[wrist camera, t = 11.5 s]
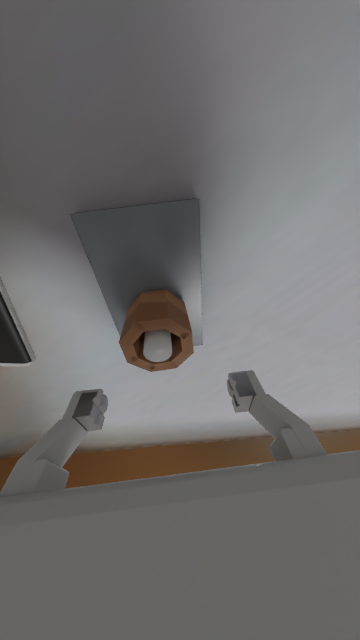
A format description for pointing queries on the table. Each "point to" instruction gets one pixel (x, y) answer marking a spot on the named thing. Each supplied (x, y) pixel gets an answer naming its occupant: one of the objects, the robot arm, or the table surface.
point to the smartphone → (12, 335)
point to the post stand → (146, 261)
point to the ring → (153, 315)
